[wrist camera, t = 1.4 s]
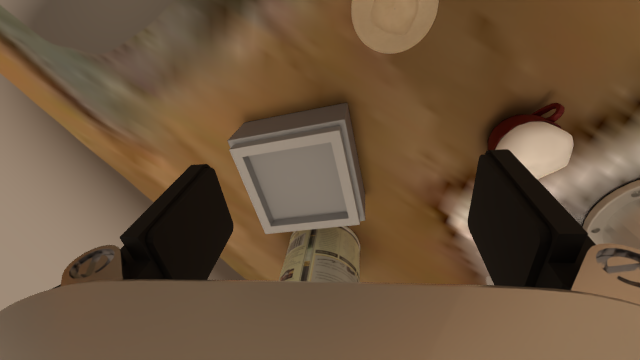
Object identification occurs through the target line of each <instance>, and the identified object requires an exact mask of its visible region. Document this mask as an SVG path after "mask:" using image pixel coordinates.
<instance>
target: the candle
mask: <svg viewBox="0 0 640 360" xmlns="http://www.w3.org/2000/svg"><path fill="white" fill-rule="evenodd" d="M438 4H439V0H352V5H351V15H352V22H353V26H354V29H355V31H356V33H357V35H358V37H359V38H360V39H361V41H362V42H363V43H364V44H365V45H366V46H368V47H369V48H371V49H372V50H374V51H377V52H380V53H385V54H394V53H399V52H403V51H405V50H408V49H410V48H411V47H413V46H414V45H416V44H417V43H418V42H419V41H421V40H422V39H423V38H424V36H425V35H426V34H427V33H428V31H429V30H430V28H431V26H432V24H433V22H434V20H435V17H436V14H437V10H438Z"/></svg>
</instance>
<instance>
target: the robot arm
mask: <svg viewBox="0 0 640 360" xmlns="http://www.w3.org/2000/svg"><path fill="white" fill-rule="evenodd" d="M468 227H469V230H470V233H471V235H472V237H473V239H474V241H475V244H476V246H477V248H478V250H479V252H480V254H481V257H482V259H483V261H484V263H485V265H486V268H487V270H488V272H489V274H490V276H491V278H492V281H493V283H494V285H457V284H413V283H369V282H317V281H256V280H207V279H208V277H209V275H210V273H211V271H212V269H213V267H214V265H215V264H216V262H217V260H218V258H219V256H220V254H221V252H222V251H223V249H224V247H225V245H226V243H227V241H228V239H229V238H230V236H231V234H232V232H233V221H232V219H231V216H230V213H229V210H228V207H227V204H226V201H225V198H224V196H223V193H222V190H221V187H220V184H219V181H218V178H217V175H216V173H215V170H214V169H213V168H210V166H209V165H207V164H202V165H191V166H190V167H189V168H188V169H187V170H186V171H185V172H184V173H183V174H182V175H181V176H180V177H179V178H178V179H177V180H176V181H175V182H174V183H173V184H172V185H171V186H170V187H169V188H168V189H167V190H166V191H165V192H164V193H163V194H162V195H161V196H160V197H159V198H158V199H157V200H156V201H155V202H154V203H153V204H152V205H151V206H150V207H149V208H148V209H147V210H146V211H145V212H144V213H143V214H142V215H141V216H140V217H139V218H138V219H137V220H136V221H135V222H134V223H133V224H132V225H131V227H130V228H128V229H127V231H125V232H124V234H122V235H121V236H120V239H121V241H122V242H123V244H124V246H123V247H122V248H121V249H119V247H117V246H115V245H105V246H100V247H97V248H94V249H92V250H90V251H88V252H86V253H84V254H82V255H81V256H79V257H77V258H76V259H75V260H74V261H72V262H71V263H70V264H69V265H68V266H67V268H66V269H65V270H64V273H63V275H62V280H61V285H59V286H57V287H55V288H53V289H50V290H47V291H44V292H40V293H37V294H35V295H32V296H29V297H27V298H24V299H22V300H20V301H17V302H15V303H13V304H12V305H9V306H8V307H6V308H4V309H3V310H1V311H0V360H640V180H637V181H635V182H632V183H629V184H627V185H625V186H623V187H621V188H619V189H617V190H615V191H614V192H612V193H611V194H609V195H608V196H606V197H605V198H604V199H602V200H601V201H600V202H599V203H598V204H597V205H596V206H595V207H594V208H593V209H592V210H591V211H590V213H589V214H588V216H587V218H586V219H585V222H584V224H583V227H582V226H581V225H580V224H579V223H578V222H577V221H576V220H575V219H574V218H573V217H572V216H571V215H570V214H569V213H568V212H567V211H566V209H565V208H564V207H563V206H562V205H561V204H560V203H559V202H558V201H557V200H556V199H555V198H554V197H553V196H552V195H551V194H550V193H549V191H548V190H547V189H546V188H545V187H544V186H543V185H542V184H541V183H540V182H539V181H538V180H537V179H536V178H535V177H534V176H533V175H532V174H531V172H530V171H529V170H528V169H527V168H526V167H525V166H524V165H523V164H522V163H521V162H520V161H519V160H518V159H517V158H516V157H515V156H514V154H513V153H512V152H511V151H510V150H508V149H501V150H488V151H486V153H485V155H481V156H480V157H479V161H478V167H477V172H476V178H475V183H474V189H473V194H472V200H471V205H470V211H469V216H468Z"/></svg>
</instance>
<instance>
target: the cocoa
mask: <svg viewBox="0 0 640 360" xmlns="http://www.w3.org/2000/svg"><path fill="white" fill-rule="evenodd" d="M556 108H557V109H556ZM552 109H556V111H555V113H554V114H553V115H552V116H550V117H548V118H543V117H541V115H543V114H545V113H546V112H548V111H550V110H552ZM563 113H564V107H563V106H562V105H561V104H558V103H553V104H550V105H547V106H545V107H543V108H541V109H539V110H538V111H536V112H534V113H533V114H531V115H515V116H513V117H511V118H508V119H506V120H503V121H502V122H501V123H500V124H499V125H498V126H497V127H495V128H494V129H493V131H492V133H491V135H490V137H489V139H488V150H501V149H508V150H510V151H511V152H512V153H513V154H514V156H515V157H516V158H517V159H518V160H519V161H520V162H521V163H522V164H523V165H524V166H525V167H526V168H527V169H528V170H529V171H530V172H531V174H532V175H533V176H534V177H535V178H536V179H537V180H538V179H540V178H542V177H544V176H546V175H548V174H551V173H553V172H556V171H558V170H560V169H562V168H564V167H566V166H567V165H568V162H569V159H570V157H571V153H572V150H573V146H574V144H573V138H572V136H571V135H570V134H569V133H567V132H566V131H564V130H562V129H561V127H560V126H559V125H557V124H556V123H554V122H555V121H556V120H558V119H559V118H560V117H561V116H562V114H563Z"/></svg>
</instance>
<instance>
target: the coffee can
mask: <svg viewBox="0 0 640 360" xmlns="http://www.w3.org/2000/svg"><path fill="white" fill-rule="evenodd" d="M359 276H360V243H359V240H358V238H357V236H356V235H355V233H353V231H352V230H351V229H350V228H348V227H347V226H341V227H331V228H321V229H311V230H301V231H294V232H293V233H292V235H291V238H290V243H289V247H288V250H287V254H286V257H285V261H284V264H283V267H282V271H281V274H280V278H279V281H317V282H359Z"/></svg>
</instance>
